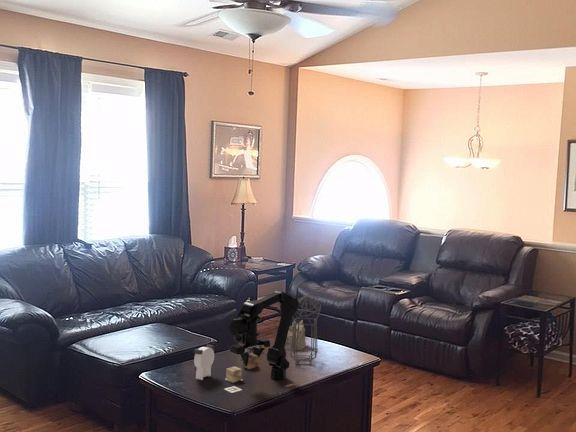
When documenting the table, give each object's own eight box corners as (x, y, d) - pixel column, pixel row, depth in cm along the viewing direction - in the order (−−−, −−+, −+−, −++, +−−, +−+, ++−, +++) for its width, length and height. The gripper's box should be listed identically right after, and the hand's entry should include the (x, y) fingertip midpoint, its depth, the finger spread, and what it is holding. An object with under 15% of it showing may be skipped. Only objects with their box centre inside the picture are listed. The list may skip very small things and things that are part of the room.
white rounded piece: (201, 373, 294) (202, 342, 293) (221, 377, 289) (222, 346, 288) (186, 380, 284) (186, 348, 283) (206, 384, 279) (207, 352, 278)
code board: (238, 377, 290) (238, 375, 290) (265, 389, 275) (265, 387, 275) (206, 385, 278) (206, 383, 278) (233, 398, 263) (233, 396, 263)
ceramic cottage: (292, 339, 357) (292, 314, 355) (311, 347, 345) (312, 321, 342) (271, 345, 347) (271, 320, 345) (290, 354, 335) (291, 327, 332)
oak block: (234, 376, 288) (235, 366, 288) (241, 379, 284) (241, 369, 284) (226, 379, 285) (226, 368, 284) (232, 381, 281) (232, 371, 281)
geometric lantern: (319, 358, 323) (322, 293, 319) (317, 369, 307) (320, 300, 304) (289, 356, 324) (292, 291, 321) (286, 366, 308) (289, 298, 305)
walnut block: (251, 363, 278) (251, 353, 277) (258, 366, 274) (258, 355, 274) (242, 366, 275) (242, 355, 274) (249, 369, 271) (249, 358, 270)
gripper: (255, 323, 285) (255, 356, 287) (222, 330, 273) (222, 364, 274) (271, 328, 277) (270, 362, 278) (237, 335, 264) (237, 371, 266)
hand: (250, 364), depth 274 cm, fingers closed on walnut block, 5 cm apart
